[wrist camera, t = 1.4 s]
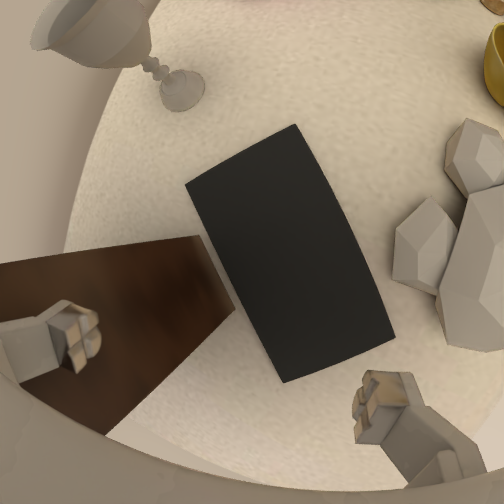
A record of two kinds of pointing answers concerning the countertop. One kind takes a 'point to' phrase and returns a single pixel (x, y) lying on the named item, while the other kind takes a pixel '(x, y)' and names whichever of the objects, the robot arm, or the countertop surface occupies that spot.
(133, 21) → the chalice
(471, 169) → the rock
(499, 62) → the mustard yellow bowl
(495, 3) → the sprinkles bottle
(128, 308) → the walnut stand
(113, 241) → the countertop surface
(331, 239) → the charcoal mat
